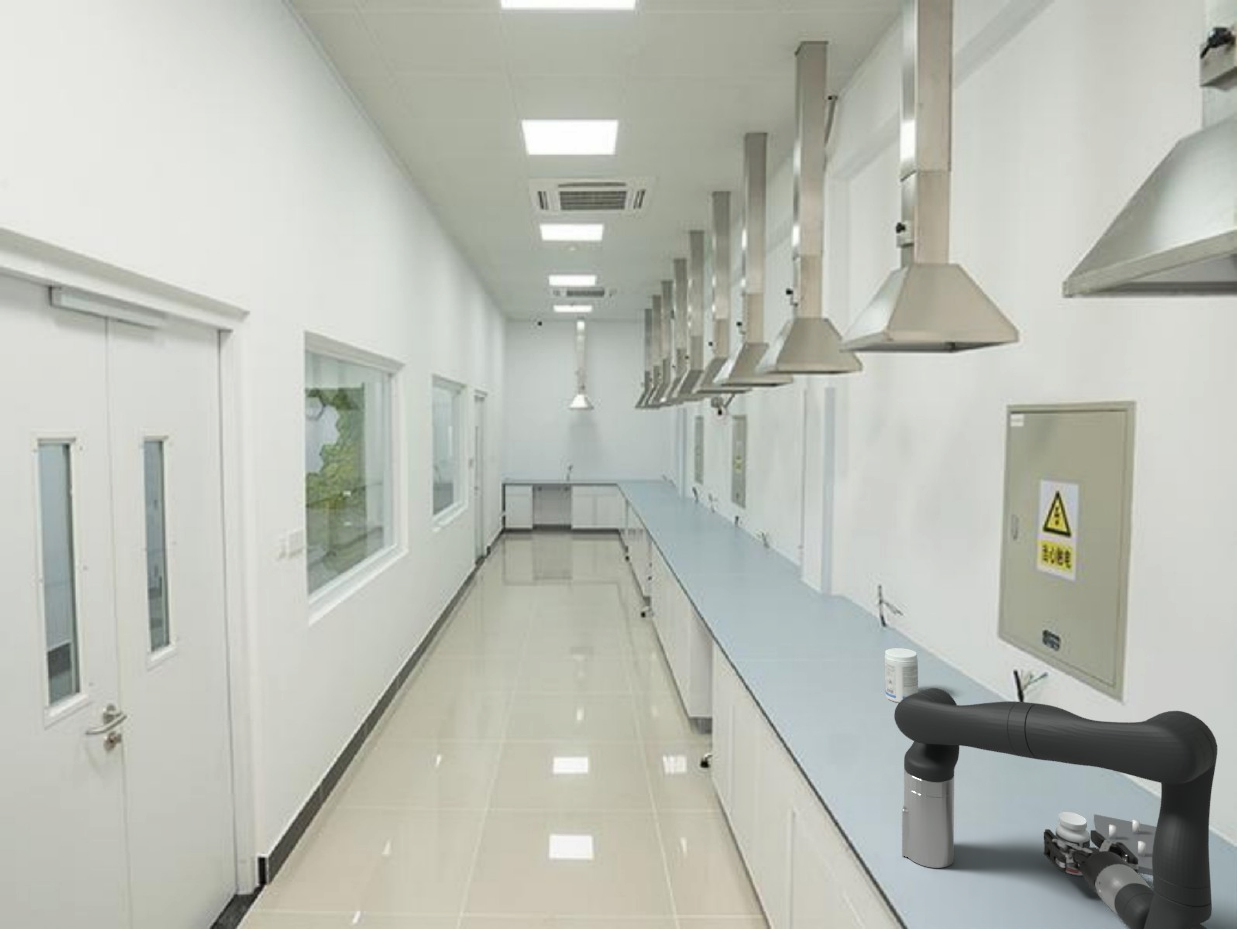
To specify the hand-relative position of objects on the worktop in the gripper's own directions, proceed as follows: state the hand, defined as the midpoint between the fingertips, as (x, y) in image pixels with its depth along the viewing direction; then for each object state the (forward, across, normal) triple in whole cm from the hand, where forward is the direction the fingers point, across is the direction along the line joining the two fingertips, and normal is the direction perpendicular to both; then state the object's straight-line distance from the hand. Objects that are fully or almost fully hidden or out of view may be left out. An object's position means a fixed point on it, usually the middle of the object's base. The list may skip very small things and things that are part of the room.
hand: (1069, 833), depth 145 cm
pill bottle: (-1, 0, +6) cm, 6 cm away
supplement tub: (+86, +6, +6) cm, 87 cm away
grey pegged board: (+6, -16, +6) cm, 18 cm away
